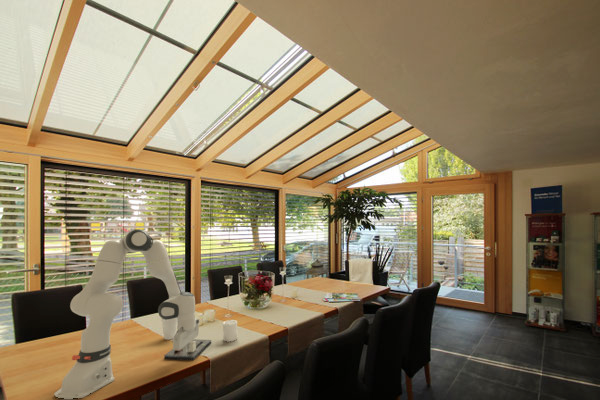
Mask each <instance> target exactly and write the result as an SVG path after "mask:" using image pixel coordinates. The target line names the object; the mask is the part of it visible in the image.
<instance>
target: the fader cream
mask: <svg viewBox="0 0 600 400" xmlns="http://www.w3.org/2000/svg"><path fill="white" fill-rule="evenodd" d="M195 350H196V341H191V343H190V347H189V351H188V352H190V353H192V352H194V351H195Z"/></svg>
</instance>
